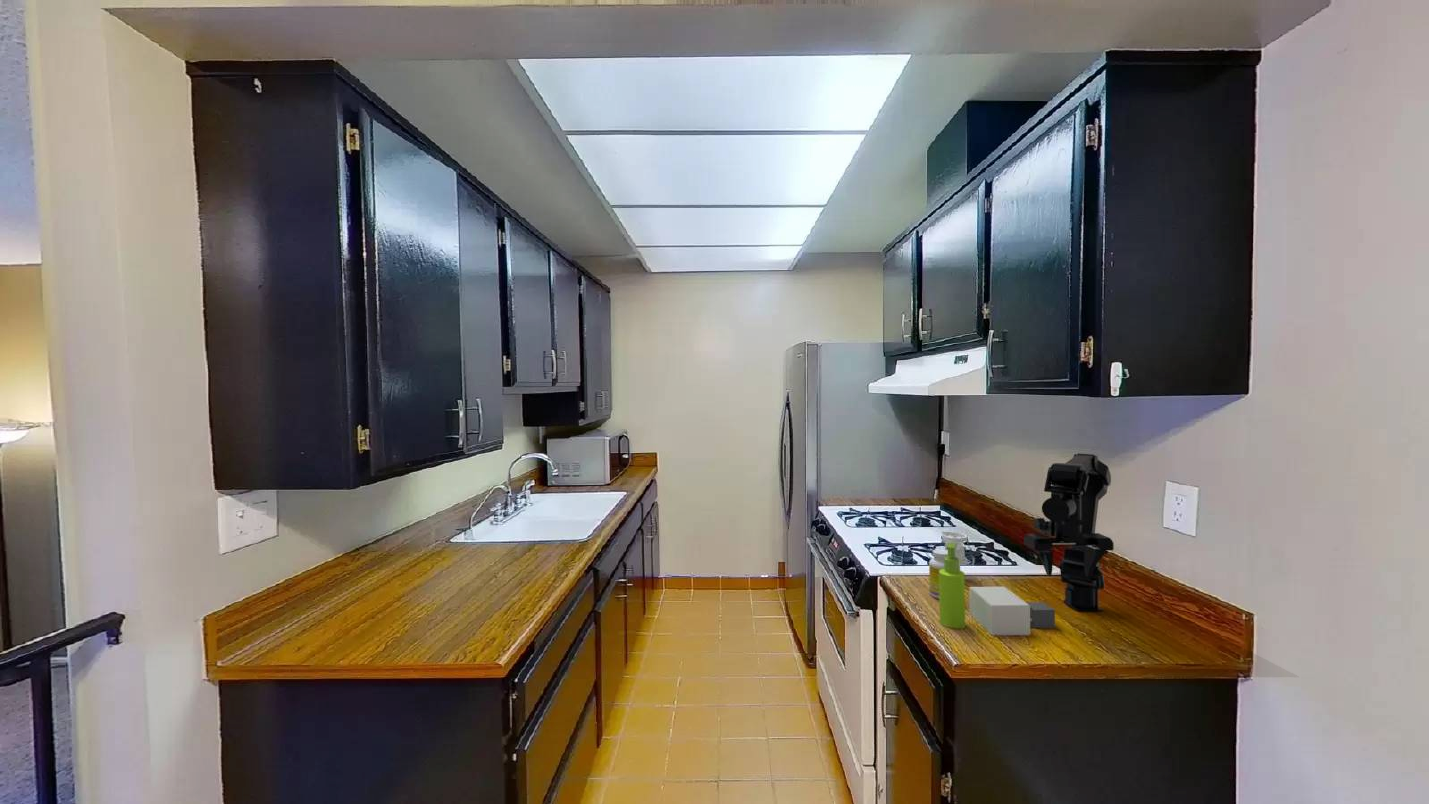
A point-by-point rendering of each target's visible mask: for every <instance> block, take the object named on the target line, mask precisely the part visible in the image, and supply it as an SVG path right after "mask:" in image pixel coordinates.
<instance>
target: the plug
mask: <svg viewBox="0 0 1429 804" xmlns="http://www.w3.org/2000/svg"><path fill="white" fill-rule="evenodd" d="M1026 603H1027V604H1028V605H1029V606H1030V627H1032V628H1033V629H1056V612H1055V611H1056V610H1055V609H1054V608H1052V607H1051V606H1050V605H1048V604H1047V603H1045V602H1043V601H1042V602H1039V601H1038V602H1037V601H1035V602H1029V601H1028V602H1026Z"/></svg>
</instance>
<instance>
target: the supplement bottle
mask: <svg viewBox="0 0 1429 804" xmlns="http://www.w3.org/2000/svg"><path fill="white" fill-rule="evenodd" d="M932 556H933V558H931V559H930V560H929V562H928V563H929V571H928V572H929V579H928V580H929V581H928V582H929V594H930V596H931V597H933V598H935V599H938V600H939V570H940V569H944V557H946V556H948V551H947V550H945V549H942V548H941V549H940V548H936V549H933V551H932Z"/></svg>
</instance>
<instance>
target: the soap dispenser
mask: <svg viewBox="0 0 1429 804" xmlns="http://www.w3.org/2000/svg"><path fill="white" fill-rule="evenodd" d="M956 545H957V543H950V542H949V543H948V544H947V549H948V556H946V557H944V569H940V570H939V599H938V600H939V603H938V605H939V623H940V624H941V625H943V626H944V627H946V628H951V629H963V628H964V627H966V598H965V597H966V594H965V593H966V592H965V591H966V589H965V587H966V586H965V584H966V583H965V572H964V571H962V570H961V569H960V570H959V559H958V558H956V557H955V548H956Z"/></svg>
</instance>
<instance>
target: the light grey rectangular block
mask: <svg viewBox="0 0 1429 804" xmlns="http://www.w3.org/2000/svg"><path fill="white" fill-rule="evenodd" d="M968 591H969V593H968V594H969V596H968V597H969V615H971V616H972V617H973V618H974V620H976V621H977V622H978V623H979V625H981V627H982V628H984V629H985V630H986V631H987V632H988V633H989V635H991V636H1031V625H1030V606H1029V605H1028V604H1027V603H1028V602H1026V601H1025V600H1023V599H1021V598H1020V597H1019V596H1018V595H1016V594H1014V593H1013V592H1012V591H1010V590H1009V589H1008V588H1007V587H1005V586H970V587H969V589H968Z"/></svg>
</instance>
